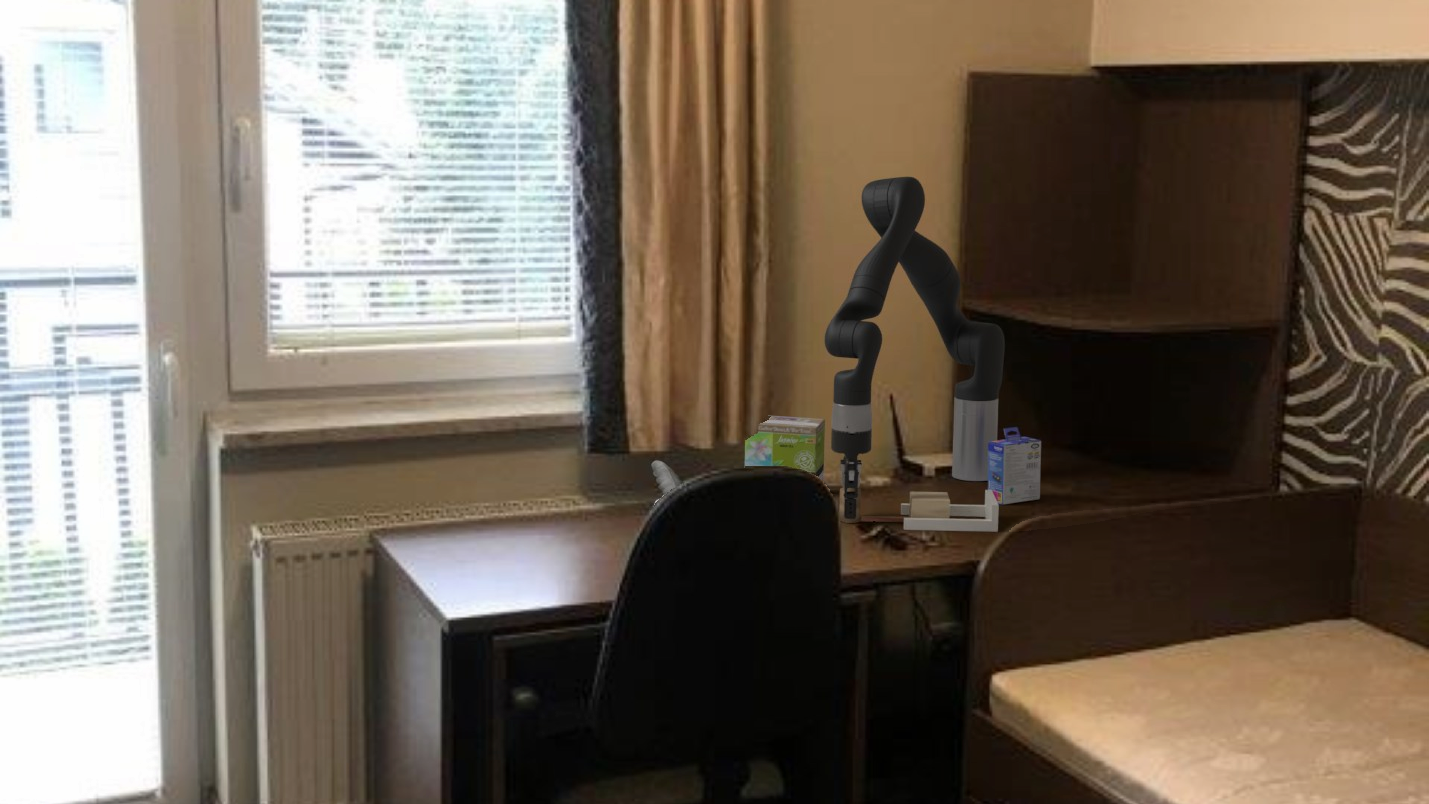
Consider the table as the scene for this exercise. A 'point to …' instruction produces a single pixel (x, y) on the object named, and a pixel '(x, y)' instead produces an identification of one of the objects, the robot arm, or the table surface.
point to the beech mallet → (919, 508)
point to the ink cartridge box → (1014, 468)
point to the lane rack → (959, 524)
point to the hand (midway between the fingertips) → (849, 514)
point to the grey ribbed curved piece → (665, 477)
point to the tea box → (788, 444)
